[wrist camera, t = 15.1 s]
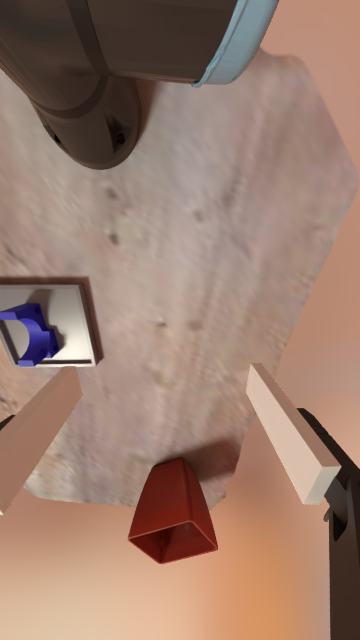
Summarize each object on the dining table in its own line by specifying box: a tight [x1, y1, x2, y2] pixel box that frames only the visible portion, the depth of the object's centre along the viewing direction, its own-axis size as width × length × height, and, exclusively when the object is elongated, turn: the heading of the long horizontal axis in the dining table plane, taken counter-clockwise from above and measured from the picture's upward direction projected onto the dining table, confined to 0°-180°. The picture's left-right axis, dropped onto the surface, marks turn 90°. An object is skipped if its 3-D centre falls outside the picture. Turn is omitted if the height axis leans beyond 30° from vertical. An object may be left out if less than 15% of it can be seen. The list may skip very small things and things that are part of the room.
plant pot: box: [128, 458, 218, 564], centre depth 54 cm, size 19×19×17 cm
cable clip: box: [0, 303, 60, 367], centre depth 36 cm, size 12×4×6 cm, turn 179°
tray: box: [0, 283, 99, 368], centre depth 39 cm, size 20×20×2 cm
